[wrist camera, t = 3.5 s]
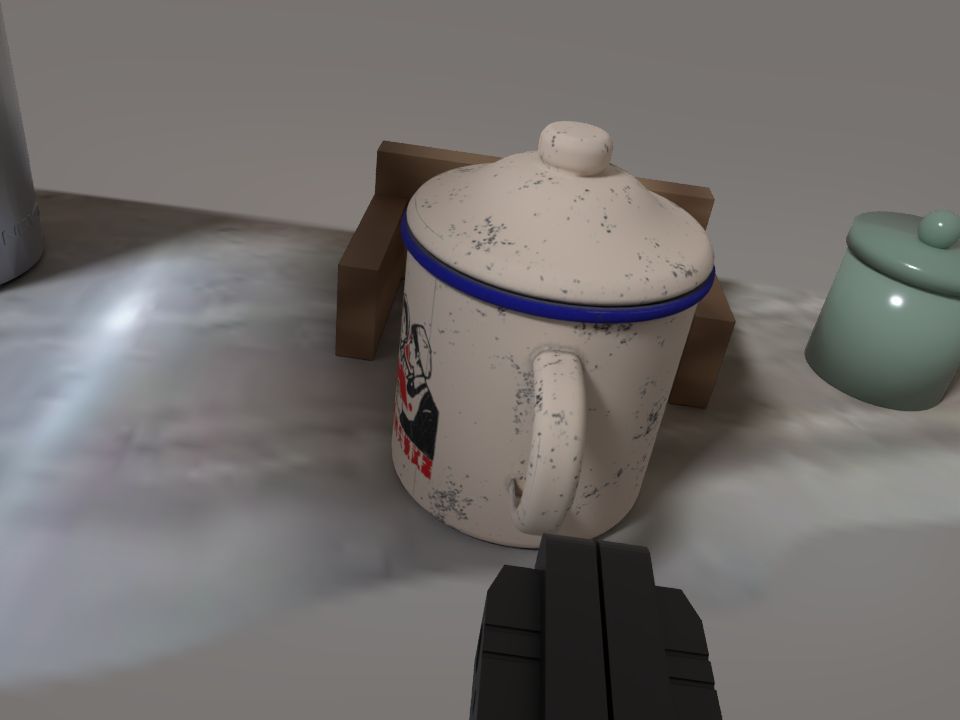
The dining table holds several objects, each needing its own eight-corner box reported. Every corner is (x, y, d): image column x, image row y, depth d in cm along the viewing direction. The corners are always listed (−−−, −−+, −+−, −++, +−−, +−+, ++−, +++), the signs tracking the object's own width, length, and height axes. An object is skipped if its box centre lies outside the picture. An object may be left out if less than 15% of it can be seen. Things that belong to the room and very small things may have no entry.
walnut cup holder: (335, 354, 32) (339, 214, 29) (376, 259, 39) (383, 140, 36) (705, 408, 32) (751, 274, 29) (675, 302, 40) (708, 187, 36)
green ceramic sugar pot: (823, 401, 33) (901, 231, 29) (784, 325, 39) (845, 172, 35) (973, 424, 34) (1071, 257, 29) (913, 345, 39) (989, 194, 35)
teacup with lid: (398, 374, 31) (424, 68, 25) (626, 401, 32) (707, 106, 25) (349, 624, 21) (371, 213, 15) (684, 658, 22) (843, 273, 15)
